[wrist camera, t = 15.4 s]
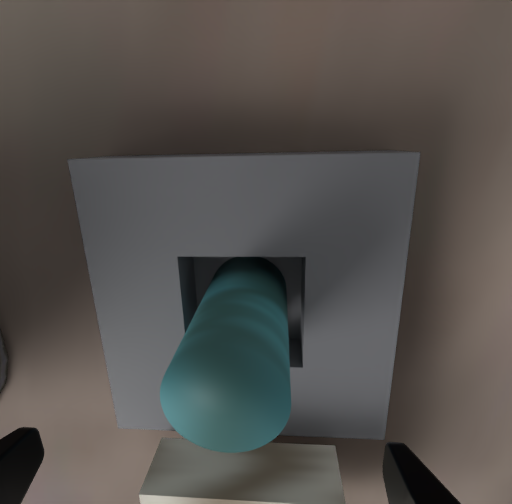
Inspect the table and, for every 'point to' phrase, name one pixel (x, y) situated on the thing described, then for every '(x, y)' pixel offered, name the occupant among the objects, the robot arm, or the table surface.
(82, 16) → the table surface
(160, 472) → the sliding lid
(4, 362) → the lidded ginger jar
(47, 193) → the table surface
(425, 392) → the table surface
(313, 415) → the socket block
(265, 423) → the teal peg
